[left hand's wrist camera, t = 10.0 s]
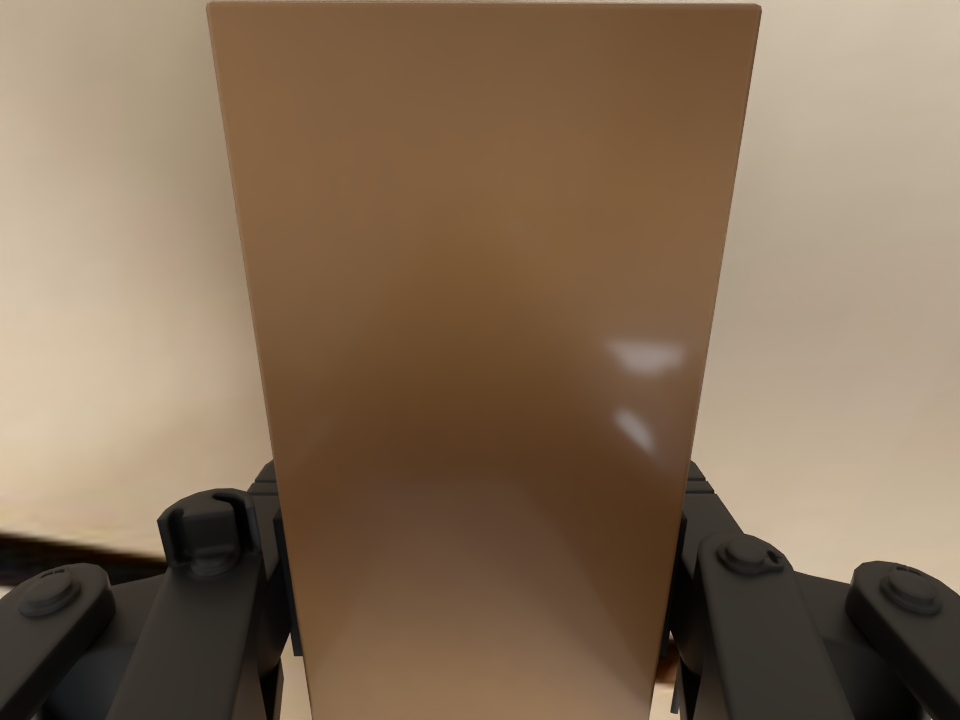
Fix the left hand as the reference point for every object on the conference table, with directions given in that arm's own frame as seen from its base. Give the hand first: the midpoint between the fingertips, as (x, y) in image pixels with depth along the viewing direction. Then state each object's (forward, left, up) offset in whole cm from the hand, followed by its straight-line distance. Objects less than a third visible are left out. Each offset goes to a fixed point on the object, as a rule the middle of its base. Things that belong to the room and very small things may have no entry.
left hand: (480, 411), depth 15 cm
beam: (+17, +19, -1) cm, 25 cm away
